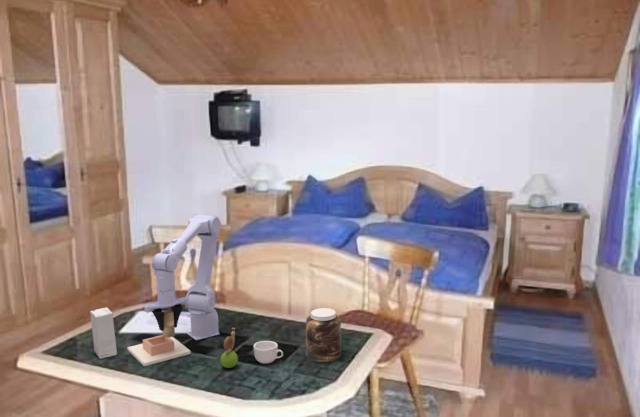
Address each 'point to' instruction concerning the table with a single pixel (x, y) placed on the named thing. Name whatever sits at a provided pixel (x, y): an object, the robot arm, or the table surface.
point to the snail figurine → (229, 352)
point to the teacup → (266, 351)
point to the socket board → (158, 350)
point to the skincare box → (103, 332)
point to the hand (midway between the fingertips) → (168, 328)
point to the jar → (323, 335)
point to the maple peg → (168, 324)
